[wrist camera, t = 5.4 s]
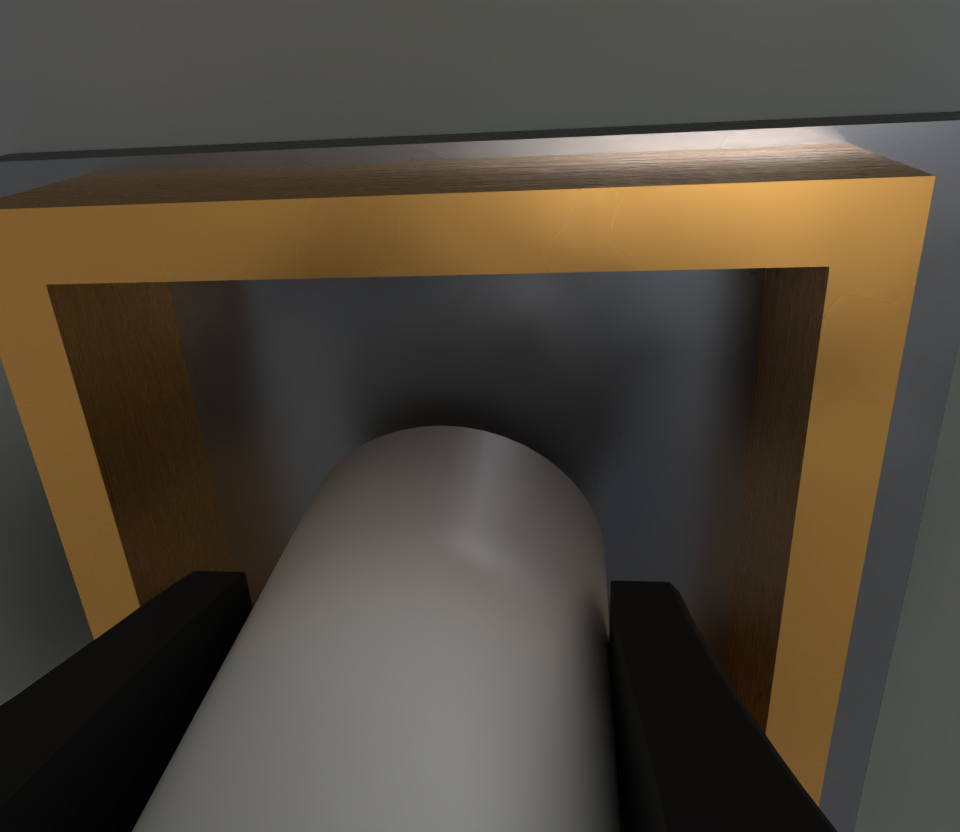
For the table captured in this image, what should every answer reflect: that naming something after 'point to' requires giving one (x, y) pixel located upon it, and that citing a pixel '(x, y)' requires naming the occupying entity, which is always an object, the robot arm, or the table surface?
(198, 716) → the canister
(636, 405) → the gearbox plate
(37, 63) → the table surface
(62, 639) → the table surface
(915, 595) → the table surface
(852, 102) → the table surface
